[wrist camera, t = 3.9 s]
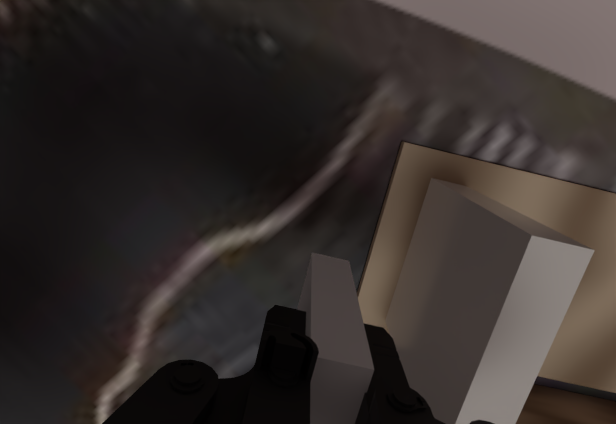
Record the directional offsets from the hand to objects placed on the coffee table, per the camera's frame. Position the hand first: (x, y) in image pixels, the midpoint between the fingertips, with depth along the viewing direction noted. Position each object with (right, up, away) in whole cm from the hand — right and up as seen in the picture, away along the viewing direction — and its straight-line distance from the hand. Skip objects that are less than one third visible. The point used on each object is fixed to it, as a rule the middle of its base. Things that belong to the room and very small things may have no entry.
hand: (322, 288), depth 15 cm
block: (+6, 0, +7) cm, 9 cm away
